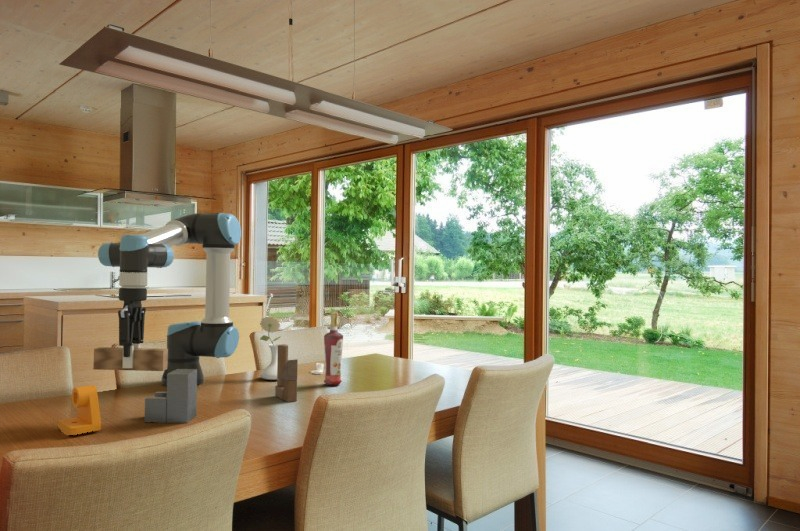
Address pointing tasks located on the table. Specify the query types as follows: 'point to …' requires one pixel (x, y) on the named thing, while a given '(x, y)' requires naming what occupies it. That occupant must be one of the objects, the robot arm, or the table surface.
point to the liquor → (333, 353)
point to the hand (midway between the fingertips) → (131, 366)
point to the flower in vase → (270, 326)
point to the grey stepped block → (174, 399)
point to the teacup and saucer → (319, 369)
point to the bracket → (83, 412)
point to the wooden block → (286, 376)
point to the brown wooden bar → (141, 359)
